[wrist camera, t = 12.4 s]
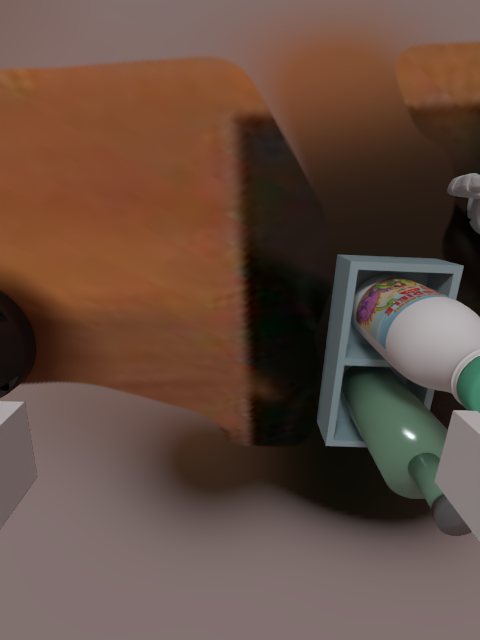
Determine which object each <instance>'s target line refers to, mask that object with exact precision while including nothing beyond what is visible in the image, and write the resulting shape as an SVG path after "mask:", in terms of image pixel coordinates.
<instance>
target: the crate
mask: <svg viewBox="0 0 480 640" xmlns="http://www.w3.org/2000/svg"><path fill="white" fill-rule="evenodd" d="M463 267H464V266H463V265H459V264H455V263H451V262H447V261H443V260H440V259H430V258H406V257H405V258H404V257H381V256H357V255H337V263H336V271H335V279H334V287H333V295H332V303H331V311H330V319H329V327H328V336H327V343H326V352H325V359H324V367H323V375H322V383H321V391H320V399H319V407H318V415H317V423H318V426H319V428H320V431H321V434H322V437H323V439H324V442H325V445H326V446H344V447H367V446H366V444H365V442H364V440H363V438H362V436H361V435H360V433H359V431H358V429H357V427H356V425H355V423H354V421H353V420H352V418H351V416H350V414H349V412H348V410H347V408H346V406H345V404H344V403H343V401H342V399H341V396H340V392H341V385H342V378H343V375H344V373H345V372H346V371H347V370H348V369H349V368H350V367H352V366H376V367H389V368H390V369H391V370H392V371H393V372H394V373H395V374H396V375H397V376H398V377H399V378H400V379H401V381H402V382H403V383H404V384H405V385H406V386H407V387H408V388H409V389H410V390H411V391H412V392H413V393H414V394H415V396H416V397H417V398H418V399H419V400H420V401H421V402H422V403H423V404H424V405H425V406H426V407H427V408H428V409H429V411H430V407H431V403H432V399H433V395H434V389H430V388H426V387H423V386H421V385H418V384H416V383H414V382H412V381H410V380H409V379H407V378H406V377H405V376H403V375H402V374H401V373H399V372H398V371H397V370H396V369H395V368H394V367H393V366H392V365H391V364H390V363H389V362H388V361H387V360H386V359H385V358H384V357H383V356H382V355H381V354H380V353H379V352H378V351H377V350H376V349H375V348H374V347H373V346H372V345H371V344H370V343H369V342H368V341H367V340H366V339H365V338H364V337H363V336H362V335H361V333H360V332H359V331H358V330H357V329H356V327H355V326H354V324H353V322H352V320H351V315H352V308H353V301H354V294H355V292H356V291H357V289H358V288H359V287H360V286H361V285H362V284H363V283H364V282H366V281H367V280H369V279H370V278H372V277H375V276H378V275H382V274H395V275H399V276H402V277H405V278H407V279H409V280H412V281H414V282H416V283H419V284H421V285H423V286H426V287H428V288H430V289H433V290H435V291H437V292H439V293H441V294H444V295H446V296H448V297H450V298H452V299H454V300H456V297H457V293H458V289H459V284H460V280H461V276H462V272H463Z"/></svg>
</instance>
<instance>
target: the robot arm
mask: <svg viewBox="0 0 480 640" xmlns="http://www.w3.org/2000/svg"><path fill="white" fill-rule="evenodd" d="M35 353H36V346H35V339H34V334H33V331H32V328H31V326H30V324H29V322H28V320H27V318H26V317H25V315H24V313H23V312H22V311H21V309H20V308H19V307H18V306H17V305H16V304H15V303H14V302H13V301H12V300H11V299H10V298H9V297H8V296H7V295H5V294H4V293H3V292H1V291H0V398H1V397H3V396H5V395H6V394H8V393H9V392H10V391H12V390H13V389H14V388H16V387H17V386H18V385H19V384H20V383H22V382H23V381H24V380H25V378H26V377H27V376H28V374H29V373H30V371H31V369H32V367H33V364H34V360H35ZM36 478H37V471H36V465H35V459H34V453H33V447H32V441H31V435H30V429H29V423H28V417H27V412H26V406H25V402H16V401H15V402H14V401H0V529H1V528H2V526H3V525H4V524H5V522H6V521H7V519H8V518H9V516H10V514H12V512H13V511H14V509H15V508H16V506H17V505H18V504H19V502H20V501H21V499H22V498H23V497H24V495H25V494H26V492H27V491H28V489H29V488H30V487H31V485H32V484H33V482H34V481H35V480H36ZM435 483H436V484H437V485H438V487H439V488H440V489H441V491H442V492H443V493H444V495H445V496H446V497H447V499H448V500H449V501H450V503H451V504H452V505H453V507H454V508H455V509H456V511H457V512H458V514H459V515H460V516H461V518H462V519H463V520H464V522H465V523H466V524H467V526H468V527H469V528H470V530H471V531H472V532H473V534H474V535H475V536H476V538H477V539H478V540H479V541H480V413H479V412H478V411H457V410H453V413H452V417H451V421H450V425H449V428H448V432H447V436H446V440H445V443H444V447H443V451H442V455H441V459H440V462H439V466H438V470H437V474H436V477H435Z"/></svg>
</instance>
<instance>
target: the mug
mask: <svg viewBox="0 0 480 640" xmlns="http://www.w3.org/2000/svg"><path fill="white" fill-rule="evenodd" d="M448 193H449V194H451V195H453V196H459V197H468V198H469V201H468V206H467V211H469V212H468V213H467V216H468V218H470V219H471V221H470V222H469V223H470V225H471V227H472V228H473V229H474V230H475V231H476V232H477V233H479V234H480V175H478V174H476V173H472V174H467V175H464V176H460V177H457V178H454V179H453V180H452V182H451V183H450V185H449V187H448Z"/></svg>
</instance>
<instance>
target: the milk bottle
mask: <svg viewBox="0 0 480 640" xmlns="http://www.w3.org/2000/svg"><path fill="white" fill-rule="evenodd" d="M351 320H352V322H353V324H354V326H355V327H356V329H357V330H358V331H359V332H360V333H361V335H362V336H363V337H364V338H365V339H366V340H367V341H368V342H369V343H370V344H371V345H372V346H373V347H374V348H375V349H376V350H377V351H378V352H379V353H380V354H381V355H382V356H383V357H384V358H385V359H386V360H387V361H388V362H389V363H390V364H391V365H392V366H393V367H394V368H395V369H396V370H397V371H398V372H399V373H401V374H402V375H403V376H405V377H406V378H407V379H409V380H410V381H412V382H414V383H416V384H418V385H421V386H423V387H426V388H430V389H434V390H440V391H446V392H450V393H453V395H454V397H455V399H456V400H457V401H458V402H459V403H460V404H462V405H463V406H464V407H465V408H466V409H467V410H468V411H478V412H479V413H480V317H479V316H478V315H477V314H476V313H475V312H474V311H472V310H471V309H470V308H468V307H467V306H465V305H464V304H462V303H460V302H458V301H456V300H454V299H452V298H450V297H448V296H446V295H444V294H441V293H439V292H437V291H435V290H433V289H430V288H428V287H426V286H423V285H421V284H419V283H416V282H414V281H412V280H409V279H407V278H405V277H402V276H399V275H395V274H382V275H378V276H375V277H372V278H370V279H369V280H367V281H366V282H364V283H363V284H362V285H361V286H360V287H359V288H358V289H357V291H356V292H355V294H354V301H353V308H352V315H351Z"/></svg>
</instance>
